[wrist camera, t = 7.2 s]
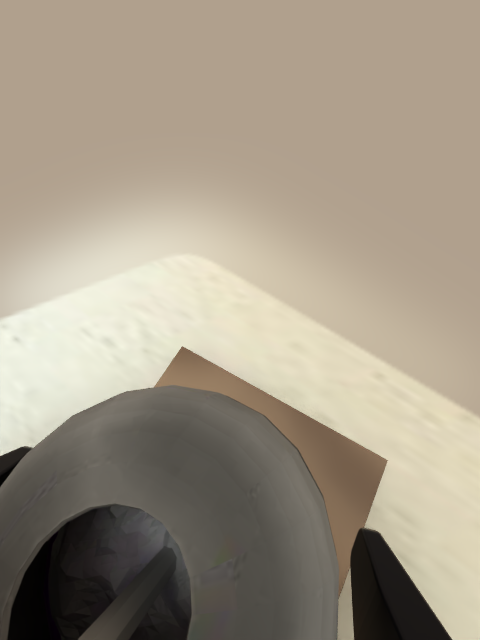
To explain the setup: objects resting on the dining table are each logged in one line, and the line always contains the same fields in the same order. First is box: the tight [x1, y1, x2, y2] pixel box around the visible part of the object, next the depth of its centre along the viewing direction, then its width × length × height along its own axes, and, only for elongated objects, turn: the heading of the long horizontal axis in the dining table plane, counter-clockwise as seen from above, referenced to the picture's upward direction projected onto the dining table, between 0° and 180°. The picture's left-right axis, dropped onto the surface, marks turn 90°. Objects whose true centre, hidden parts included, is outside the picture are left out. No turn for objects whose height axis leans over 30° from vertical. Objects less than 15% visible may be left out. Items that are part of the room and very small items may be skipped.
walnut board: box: [154, 346, 388, 599], centre depth 18 cm, size 14×14×1 cm
